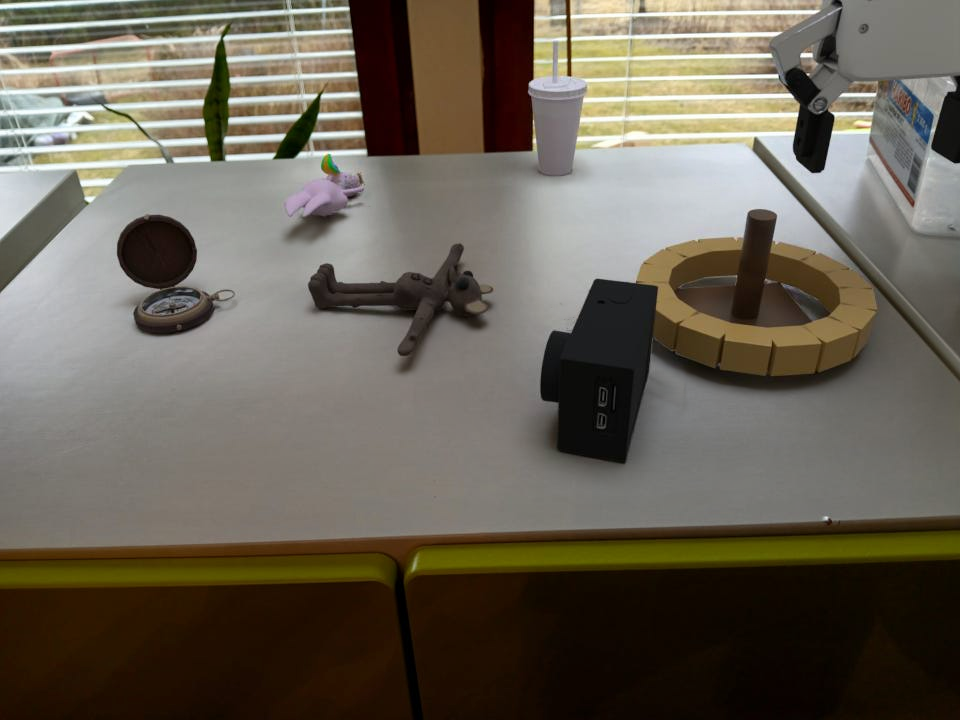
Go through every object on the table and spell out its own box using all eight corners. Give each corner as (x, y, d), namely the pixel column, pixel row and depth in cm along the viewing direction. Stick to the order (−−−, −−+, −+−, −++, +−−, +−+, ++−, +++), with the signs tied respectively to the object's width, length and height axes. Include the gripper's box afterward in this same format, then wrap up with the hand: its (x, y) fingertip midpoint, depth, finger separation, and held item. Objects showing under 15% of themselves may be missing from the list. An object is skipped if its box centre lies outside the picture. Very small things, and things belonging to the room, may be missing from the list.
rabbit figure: (325, 197, 89) (267, 231, 75) (321, 143, 86) (260, 168, 73) (379, 200, 88) (329, 235, 74) (376, 145, 85) (324, 171, 72)
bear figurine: (349, 223, 72) (507, 217, 68) (359, 266, 74) (512, 262, 70) (266, 324, 57) (461, 323, 54) (281, 373, 59) (470, 375, 56)
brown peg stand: (777, 295, 65) (799, 187, 60) (825, 354, 57) (854, 237, 52) (668, 301, 64) (681, 193, 59) (702, 362, 57) (720, 245, 52)
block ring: (808, 257, 67) (814, 231, 66) (914, 366, 53) (924, 336, 52) (613, 269, 67) (615, 243, 65) (669, 383, 53) (673, 353, 51)
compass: (140, 343, 61) (113, 258, 57) (131, 299, 67) (106, 219, 63) (244, 318, 64) (226, 235, 60) (226, 278, 70) (208, 200, 66)
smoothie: (516, 172, 90) (515, 42, 82) (549, 156, 94) (552, 31, 86) (562, 184, 87) (566, 49, 79) (594, 167, 91) (601, 38, 83)
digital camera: (573, 360, 57) (577, 273, 54) (649, 371, 56) (658, 283, 52) (537, 448, 49) (539, 353, 45) (625, 464, 48) (634, 368, 44)
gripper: (1053, -142, 48) (969, 136, 58) (773, -127, 48) (735, 151, 57) (1148, -139, 42) (1036, 172, 51) (827, -121, 41) (774, 190, 51)
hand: (877, 161), depth 54 cm, fingers open, 9 cm apart
